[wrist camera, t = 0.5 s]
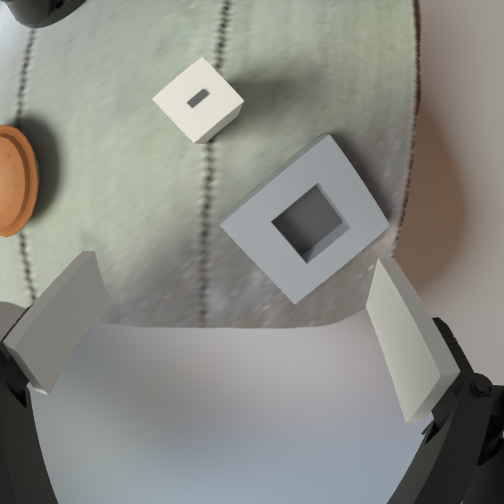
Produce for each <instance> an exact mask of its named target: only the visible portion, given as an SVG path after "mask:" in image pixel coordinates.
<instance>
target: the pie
mask: <svg viewBox="0 0 504 504" xmlns="http://www.w3.org/2000/svg"><path fill="white" fill-rule="evenodd" d="M39 183H40V169H39V164H38V160H37V156H36V155H35V153H34V150H33V148H32V146H31V144H30V143H29V141H28V139H27V137H26V136H25V135H24V134H23V133H22V132H21V131H20V130H19V129H18V128H15V127H12V126H10V125H2V126H0V235H1V236H4V237H8V236H11V235H14V234H17V233H18V232H19V231H20V230H21V229H22V228H23V227H24V226H25V225H26V223H27V222H28V220H29V219H30V217H31V216H32V214H33V210H34V207H35V204H36V201H37V194H38V191H39Z"/></svg>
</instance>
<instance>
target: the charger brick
mask: <svg viewBox="0 0 504 504" xmlns="http://www.w3.org/2000/svg"><path fill="white" fill-rule="evenodd" d="M153 101H154V102H155V103H156V104H157V105H158V106H159V107H160V108H161V109H162V110H163V111H164V112H165V113H166V114H167V115H168V116H169V117H170V118H171V119H172V120H173V121H174V123H175V124H176V125H177V126H178V127H179V128H180V129H181V130H182V131H183V132H184V133H185V134H186V135H187V136H188V137H189V139H190V140H191V141H192V142H193V143H199V144H205V143H206V142H207V141H209V140H210V139H211V138H212V137H213V136H214V135H216V134H217V133H218V132H219V131H220V130H221V129H223V128H224V127H225V126H226V125H227V124H229V123H230V122H231V121H232V120H233V119H235V118H236V117H237V116H238V114H239V112H240V110H241V107H242V105H243V103H244V100H243V99H242V98H241V97H240V96H239V94H238V93H237V92H236V91H235V90H234V89H233V88H232V87H231V86H230V85H229V84H228V83H227V82H226V81H225V80H224V79H223V78H222V77H221V76H220V75H219V74H218V73H217V72H216V70H215V69H214V68H213V67H212V66H211V65H210V64H209V63H208V62H207V61H205V60H204V59H203V58H202V57H201V58H200V59H198V60H197V61H196V62H195V63H193V64H192V65H191V66H190V67H188V68H187V69H186V70H185V71H184V72H182V73H181V74H180V75H179V76H178V77H176V78H175V79H174V80H173V81H172V82H171V83H169V84H168V85H167V86H166V87H165V88H164V89H163V90H162V91H160V92H159V93H158V94H157V95H156V96H155V97H154V98H153Z"/></svg>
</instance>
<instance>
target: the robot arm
mask: <svg viewBox="0 0 504 504" xmlns="http://www.w3.org/2000/svg"><path fill="white" fill-rule="evenodd" d="M1 1H3V2H5V3H6V4H7V6H8V8H9V9H10V11H11V12H12V14H13V15H14V17H15V18H16V20H17V21H18V22H19V23H21V24H23V25H25V26H27V27H30V28H41V27H45V26H48V25H51V24H53V23H55V22H57V21H59V20H60V19H62V18H64V17H65V16H67V15H68V14H69V13H71V12H72V11H73V10H75V9H76V8H77V7H78V6H79V5H80V4H81V3H82V2H83V1H84V0H1ZM107 299H108V295H107V292H106V289H105V286H104V283H103V279H102V276H101V273H100V269H99V266H98V262H97V258H96V255H95V252H94V251H82V252H81V253H80V254H79V255H78V256H77V257H76V258H75V259H74V260H73V261H72V262H71V264H70V265H69V266H68V267H67V268H66V269H65V270H64V271H63V272H62V273H61V274H60V275H59V276H58V277H57V278H56V279H55V280H54V281H53V282H52V284H51V285H50V286H49V287H48V288H47V289H46V290H45V291H44V292H43V294H42V295H41V296H40V297H39V298H38V299H37V300H36V302H35V303H34V304H32V305H31V306H29V307H28V308H27V309H26V310H25V312H24V313H23V314H22V315H21V317H20V318H19V319H18V320H17V321H16V324H14V325H13V326H12V327H11V328H10V330H9V331H8V332H7V334H6V335H5V336H4V337H3V339H2V340H1V342H0V504H58V502H57V499H56V497H55V494H54V491H53V489H52V486H51V483H50V479H49V476H48V473H47V470H46V467H45V463H44V460H43V456H42V452H41V448H40V444H39V440H38V436H37V431H36V426H35V421H34V416H33V410H32V405H31V397H30V392H29V389H28V388H27V384H28V382H30V383H31V384H32V386H33V387H34V388H35V390H36V391H39V392H41V393H44V394H46V395H49V394H50V392H51V390H52V388H53V386H54V384H55V383H56V381H57V379H58V377H59V376H60V374H61V372H62V370H63V369H64V367H65V365H66V363H67V362H68V360H69V358H70V357H71V355H72V353H73V352H74V350H75V348H76V347H77V345H78V343H79V342H80V340H81V338H82V337H83V335H84V334H85V332H86V331H87V329H88V327H89V326H90V324H91V323H92V321H93V320H94V318H95V317H96V315H97V314H98V312H99V311H100V309H101V308H102V306H103V305H104V303H105V302H106V300H107ZM366 308H367V311H368V313H369V316H370V319H371V321H372V324H373V326H374V329H375V331H376V334H377V337H378V339H379V342H380V345H381V348H382V351H383V354H384V356H385V359H386V362H387V365H388V368H389V371H390V374H391V377H392V380H393V383H394V386H395V389H396V392H397V395H398V398H399V402H400V405H401V409H402V412H403V415H404V419H405V422H406V424H409V423H413V422H418V421H422V420H425V418H426V417H427V416H428V415H429V414H430V412H431V411H432V414H433V417H434V419H433V421H432V422H431V423H430V424H429V425H428V426H427V427H426V428H425V429H424V431H423V432H422V434H423V435H424V434H425V433H426V435H425V437H424V439H423V441H422V443H421V445H420V447H419V449H418V451H417V453H416V455H415V457H414V459H413V461H412V463H411V465H410V466H409V468H408V470H407V472H406V474H405V475H404V477H403V479H402V480H401V482H400V484H399V485H398V487H397V489H396V490H395V492H394V493H393V495H392V497H391V498H390V500H389V501H388V503H387V504H461V502H462V500H463V502H462V504H504V438H503V431H504V386H499V385H492V382H491V381H490V380H489V379H488V378H487V377H485V376H484V375H482V374H478V373H474V372H473V369H472V368H471V366H470V364H469V362H468V360H467V358H466V356H465V355H464V353H463V351H462V349H461V347H460V345H458V342H457V340H456V339H455V337H453V333H452V332H451V330H450V328H449V327H448V325H447V324H446V323H444V322H443V321H442V320H441V319H440V318H439V317H436V318H431V316H430V315H429V313H428V311H427V310H426V308H425V306H424V305H423V303H422V301H421V300H420V298H419V297H418V295H417V293H416V292H415V290H414V289H413V287H412V285H411V284H410V282H409V281H408V279H407V278H406V276H405V275H404V273H403V272H402V270H401V269H400V267H399V266H398V264H397V263H396V261H395V260H394V258H378V260H377V264H376V269H375V273H374V277H373V281H372V285H371V289H370V293H369V297H368V301H367V304H366Z"/></svg>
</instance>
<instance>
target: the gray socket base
mask: <svg viewBox="0 0 504 504" xmlns="http://www.w3.org/2000/svg"><path fill="white" fill-rule="evenodd" d="M220 226H221V227H222V228H223V229H224V230H225V232H226V233H227V234H228V235H229V236H230V237H231V238H232V239H233V240H234V241H235V242H236V243H237V244H238V245H239V246H240V247H241V248H242V249H243V251H244V252H245V253H246V254H247V255H248V256H249V257H250V258H251V259H252V260H253V261H254V262H255V263H256V264H257V265H258V266H259V267H260V269H261V270H262V271H263V272H264V273H265V274H266V275H267V276H268V277H269V278H270V279H271V280H272V281H273V282H274V283H275V284H276V285H277V286H278V287H279V289H280V290H281V291H282V292H283V293H284V294H285V295H286V296H287V297H288V298H289V299H290V300H291V301H292V302H293V303H294V304H296V303H297V302H298V301H300V300H301V299H302V298H304V297H305V296H306V295H307V294H309V293H310V292H311V291H313V290H314V289H315V288H316V287H318V286H319V285H320V284H321V283H323V282H324V281H325V280H326V279H328V278H329V277H330V276H331V275H333V274H334V273H335V272H336V271H338V270H339V269H340V268H341V267H342V266H344V265H345V264H346V263H347V262H348V261H350V260H351V259H352V258H353V257H354V256H356V255H357V254H358V253H359V252H360V251H362V250H363V249H364V248H365V247H366V246H367V245H369V244H370V243H371V242H372V241H373V240H374V239H376V238H377V237H378V236H379V235H380V234H381V233H382V232H384V231H385V230H386V229H387V228H388V227H389V226H390V225H389V223H388V221H387V219H386V218H385V216H384V214H383V213H382V211H381V209H380V208H379V206H378V204H377V203H376V201H375V200H374V198H373V196H372V195H371V193H370V192H369V190H368V189H367V187H366V186H365V184H364V182H363V181H362V179H361V178H360V176H359V175H358V173H357V172H356V170H355V169H354V168H353V166H352V165H351V163H350V162H349V160H348V159H347V157H346V156H345V155H344V153H343V152H342V150H341V149H340V148H339V146H338V145H337V144H336V142H335V141H334V139H333V138H332V137H331V135H330V134H322V135H320V136H319V137H317V138H316V139H315V140H314V141H312V142H311V143H310V144H309V145H307V146H306V147H305V148H304V149H302V150H301V151H300V152H299V153H297V154H296V155H295V156H294V157H292V158H291V159H290V160H289V161H287V162H286V163H285V164H284V165H283V166H281V167H280V168H279V169H278V170H276V171H275V172H274V173H273V174H272V175H270V176H269V177H268V178H267V179H266V180H264V181H263V182H262V183H261V184H260V185H259V186H257V187H256V188H255V189H254V190H253V191H251V192H250V193H249V194H248V195H247V196H246V197H244V198H243V199H242V200H241V201H240V202H239V203H237V204H236V205H235V206H234V207H233V208H232V209H230V210H229V211H228V212H227V213H226V214H225V215H224V216H222V217H221V218H220Z"/></svg>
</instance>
